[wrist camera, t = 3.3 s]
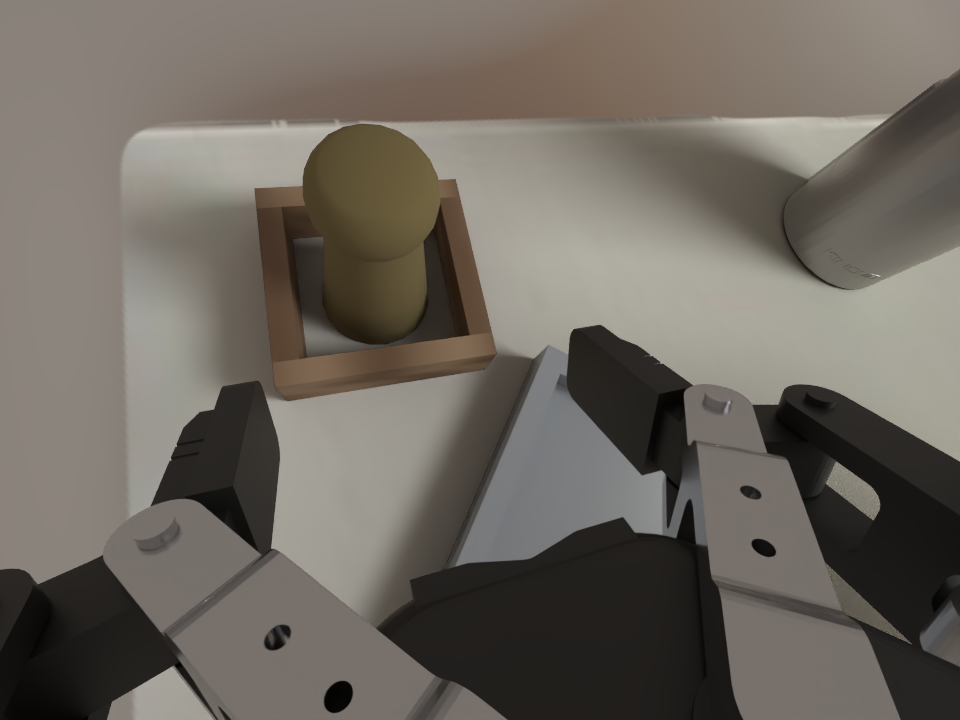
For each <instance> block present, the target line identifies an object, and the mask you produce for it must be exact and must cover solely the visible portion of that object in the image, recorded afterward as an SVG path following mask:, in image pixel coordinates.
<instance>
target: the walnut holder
mask: <svg viewBox="0 0 960 720" xmlns="http://www.w3.org/2000/svg"><path fill="white" fill-rule="evenodd" d="M438 182H439V191H440V207H439V211H438V215H437V218H436V222H435V225H434V232H435V237H436V241H437V246H438V251H439V255H440V260H441V265H442V269H443V274H444V279H445V283H446V288H447V292H448V297H449V302H450V306H451V311H452V316H453V320H454V325H455V330H456V334H457V337H454V338H447V339H440V340H433V341H426V342H418V343H411V344H404V345H397V346H390V347H382V348H375V349H368V350H361V351H354V352H346V353H339V354H332V355H325V356H318V357H310V358H307V355H306V346H305V338H304V330H303V322H302V314H301V306H300V298H299V289H298V281H297V273H296V265H295V257H294V249H293V240H292V238H306V237H319V236H322V235H321V234H320V233H319V232H318V230H317V229H316V228H315V227H314V225H313V224H312V222H311V219H310V216H309V214H308V211H307V209H306V206H305V203H304V199H303V186H299V187H277V188H255V198H256V208H257V218H258V228H259V238H260V247H261V257H262V267H263V277H264V287H265V297H266V306H267V316H268V326H269V336H270V346H271V356H272V365H273V375H274V385H275V388H276V389H277V390H278V391H279V393H280V394H281V395H282V396H283V397H284V398H285V399H286V400H287V401H292V400H298V399H304V398H310V397H316V396H323V395H329V394H335V393H341V392H348V391H354V390H360V389H366V388H373V387H379V386H385V385H391V384H397V383H404V382H410V381H416V380H422V379H429V378H435V377H441V376H447V375H454V374H460V373H466V372H472V371H478V370H485V368H486V367H487V366H488V364H489V363H490V362H491V361H492V359H493V358H494V357H495V355H496V354H497V352H496V348H495V344H494V340H493V335H492V331H491V327H490V323H489V319H488V314H487V310H486V306H485V302H484V297H483V293H482V289H481V285H480V281H479V276H478V272H477V268H476V264H475V259H474V255H473V251H472V247H471V242H470V238H469V234H468V230H467V226H466V221H465V217H464V213H463V209H462V204H461V200H460V196H459V192H458V188H457V183H456V179H450V180H438Z"/></svg>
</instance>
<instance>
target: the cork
mask: <svg viewBox="0 0 960 720" xmlns="http://www.w3.org/2000/svg"><path fill="white" fill-rule="evenodd" d="M303 199H304V203H305V206H306V209H307V211H308V214H309V216H310V219H311V222H312V224H313V225H314V227H315V228H316V229H317V230H318V232H319V233H320V234H321V235H322V236H323V238H324V254H323V306H324V309H325V311H326V314H327V317H328V319H329V320H330V321H331V323H332V324H333V325H334V326H335V327H336V328H337V330H338V331H339V332H341V333H343V334H344V335H346V336H347V337H349V338H351V339H352V340H355V341H358V342H362V343H366V344H370V345H371V344H389V343H392V342H395V341H398V340H401V339H403V338H404V337H406V336H407V335H409V334H410V333H411V332H413V331H414V330H415V329H416V328H417V327H418V325H419V324H420V322H421V321H422V319H423V318H424V316H425V312H426V309H427V305H428V295H427V282H426V269H425V256H424V243H423V241H424V240H425V239H426V237H427V236H428V235H429V233H430V232H431V231H432V229H433V228H434V225H435V222H436V218H437V215H438V211H439V207H440V191H439V182H438V177H437V174H436V172H435V170H434V168H433V165H432V163H431V161H430V159H429V158H428V157H427V156H426V154H425V153H424V152H423V151H422V150H421V149H420V148H419V146H418V145H417V144H416V143H415V142H414V141H413V140H411V139H410V138H408V137H407V136H405V135H404V134H402V133H400V132H399V131H396V130H393V129H390V128H387V127H384V126H381V125H372V124H357V125H352V126H346V127H343V128H341V129H339V130H337V131H334V132H332V133H330V134H328V135H327V136H326V137H325V138H324V139H323V140H322V141H321V142H320V143H319V144H318V145H317V146H316V148H315V149H314V150H313V151H312V152H311V154H310V156H309V159H308V161H307V163H306V166H305V168H304V174H303Z"/></svg>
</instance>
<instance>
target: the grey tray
mask: <svg viewBox="0 0 960 720" xmlns="http://www.w3.org/2000/svg"><path fill="white" fill-rule="evenodd" d="M567 366H568V355H567V354H565V353H563V352H561V351H559V350H557V349H555V348H553V347H551V346H550V345H548V346H547V347H546V348H545V349H544V350H543V351H542V352H541V353H540V354H539V355H538V356H537V357H535V358H534V360H533V363H532V365H531V367H530V370H529V372H528V374H527V377H526V379H525V381H524V384H523V386H522V388H521V391H520V393H519V395H518V398H517V400H516V402H515V405H514V407H513V409H512V412H511V414H510V416H509V419H508V421H507V423H506V426H505V428H504V430H503V432H502V435H501V437H500V439H499V442H498V444H497V446H496V449H495V451H494V453H493V456H492V458H491V460H490V463H489V465H488V467H487V470H486V472H485V474H484V477H483V479H482V481H481V484H480V486H479V488H478V491H477V493H476V495H475V498H474V500H473V502H472V505H471V507H470V509H469V512H468V514H467V516H466V519H465V521H464V523H463V525H462V528H461V530H460V532H459V535H458V537H457V539H456V542H455V544H454V546H453V549H452V551H451V553H450V556H449V558H448V560H447V563H446V565H445V567H444V570H446V569H449V568H452V567H456V566H459V565H463V564H466V563H475V562H492V561H510V560H525V559H530V558H532V557H534V556H536V555H538V554H539V553H541V552H543V551H544V550H546V549H547V548H549V547H551V546H552V545H554V544H556V543H557V542H559V541H560V540H562V539H564V538H565V537H567V536H568V535H570V534H572V533H573V532H575V531H577V530H581V529H584V528H587V527H591V526H594V525H597V524H601V523H604V522H608V521H611V520H614V519H618V518H621V517H624V519H625V520H626V521H627V523H628V524H629V525H630V526H631V528H632V529H633V530H634V532H635V533H652V534H659V535H662V484H663V479H664V475H665V473H664V472H663V471H662V470H661V471H657V472H654V473H650V474H646V475H643V476H642V475H641V474H640V473H639V472H638V471H637V470H636V469H635V467H634V466H633V465H632V464H631V463H630V462H629V461H628V460H627V459H626V458H625V456H624V455H623V454H622V453H621V452H620V451H619V450H618V449H617V448H616V446H615V445H614V444H613V443H612V442H611V441H610V440H609V439H608V438H607V437H606V435H605V434H604V433H603V432H602V431H601V430H600V429H599V428H598V427H597V426H596V424H595V423H594V422H593V421H592V420H591V419H590V418H589V417H588V416H587V415H586V413H585V412H584V411H583V410H582V409H581V408H580V407H579V406H578V405H577V404H576V402H575V401H574V400H573V399H572V397H571V396H570V394H569V391H568V387H567V380H566V379H567Z"/></svg>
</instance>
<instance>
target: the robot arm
mask: <svg viewBox="0 0 960 720" xmlns="http://www.w3.org/2000/svg"><path fill="white" fill-rule="evenodd" d="M784 226H785V231H786V235H787V237H788V239H789V242H790V244H791V246H792V248H793V249H794V251H795V253H796V254H797V256H798V257H799V258H800V259H801V261H802V262H803V263H804V264H805V265H806V266H807V267H808V268H809V269H810V270H811V271H812V272H813V273H815V274H816V275H817V276H819V277H820V278H822V279H823V280H825V281H826V282H828V283H831V284H833V285H835V286H838V287H842V288H846V289H861V288H865V287H868V286H870V285H873V284H875V283H877V282H880V281H882V280H884V279H886V278H889V277H891V276H893V275H895V274H898V273H900V272H902V271H904V270H907V269H909V268H911V267H913V266H916V265H918V264H920V263H922V262H925V261H927V260H930V259H932V258H934V257H936V256H939V255H941V254H943V253H945V252H948V251H950V250H952V249H954V248H957V247H959V246H960V69H959V70H958V71H957V72H955V73H954V74H952V75H951V76H950V77H948V78H947V79H942V80H939V81H938V82H936V83H935V84H933V85H932V86H931V87H929V88H928V89H927V90H925V91H924V92H923V93H921V94H920V95H919V96H917V97H916V98H915V99H913V100H912V101H911V102H909V103H908V104H907V105H905V106H904V107H903V108H902V109H900V110H899V111H898V112H896V113H895V114H894V115H892V116H891V117H890V118H888V119H887V120H886V121H884V122H883V123H882V124H880V125H879V126H878V127H876V128H875V129H874V130H872V131H871V132H870V133H869V134H867V135H866V136H865V137H863V138H862V139H861V140H859V141H858V142H857V143H855V144H854V145H853V146H851V147H850V148H849V149H847V150H846V151H845V152H843V153H842V154H841V155H839V156H838V157H837V158H836V159H834V160H833V161H832V162H830V163H829V164H828V165H826V166H825V167H824V168H822V169H821V170H820V171H818V172H817V173H816V174H814V175H813V176H812V177H810V178H809V181H808V183H807V184H805V185H804V186H803V187H801V188H800V189H799V190H797V191H796V192H795V193H794V194H793V195H791V196H790V198H789V199H788V201H787V203H786V206H785V210H784ZM566 380H567V387H568V391H569V394H570V396H571V397H572V399H573V400H574V401H575V402H576V404H577V405H578V406H579V407H580V408H581V409H582V410H583V411H584V412H585V413H586V415H587V416H588V417H589V418H590V419H591V420H592V421H593V422H594V423H595V424H596V426H597V427H598V428H599V429H600V430H601V431H602V432H603V433H604V434H605V435H606V437H607V438H608V439H609V440H610V441H611V442H612V443H613V444H614V445H615V446H616V448H617V449H618V450H619V451H620V452H621V453H622V454H623V455H624V456H625V458H626V459H627V460H628V461H629V462H630V463H631V464H632V465H633V466H634V467H635V469H636V470H637V471H638V472H639V473H640V474H641V475H642V476H643V475H646V474H650V473H654V472H657V471H661V470H662V471H663V472H664V473H665V475H664V479H663V484H662V535H659V534H652V533H635V532H634V530H633V529H632V528H631V526H630V525H629V524H628V523H627V521H626V520H625V519H624V517H621V518H618V519H614V520H611V521H608V522H604V523H601V524H597V525H594V526H591V527H587V528H584V529H581V530H577V531H575V532H573V533H572V534H570V535H568V536H567V537H565V538H564V539H562V540H560V541H559V542H557V543H556V544H554V545H552V546H551V547H549V548H547V549H546V550H544V551H543V552H541V553H539V554H538V555H536V556H534V557H532V558H530V559H525V560H510V561H492V562H475V563H466V564H463V565H459V566H456V567H452V568H449V569H446V570H442V571H439V572H436V573H432V574H429V575H425V576H422V577H419V578H415V579H412V580H410V583H411V590H412V596H413V600H411V601H410V602H408V603H406V604H405V605H403V606H402V607H400V608H399V609H398V610H396V611H395V612H394V613H392V614H391V615H390V616H389V617H388V618H387V619H385V620H384V621H383V622H382V623H381V624H380V625H379V626H378V627H377V628H374V627H373V626H372V625H371V624H369V623H368V622H367V621H366V620H364V619H363V618H362V617H361V616H359V615H358V614H357V613H356V612H354V611H353V610H352V609H351V608H350V607H348V606H347V605H346V604H345V603H343V602H342V601H341V600H340V599H338V598H337V597H336V596H335V595H333V594H332V593H331V592H330V591H328V590H327V589H326V588H325V587H323V586H322V585H321V584H320V583H319V582H317V581H316V580H315V579H314V578H312V577H311V576H310V575H309V574H307V573H306V572H305V571H304V570H302V569H301V568H300V567H299V566H297V565H296V564H295V563H294V562H292V561H291V560H290V559H289V558H287V557H286V556H285V555H284V554H282V553H281V552H279V551H278V550H275V549H271V543H272V533H273V523H274V513H275V503H276V493H277V483H278V473H279V463H280V450H279V443H278V438H277V434H276V430H275V427H274V424H273V420H272V417H271V414H270V411H269V407H268V404H267V401H266V397H265V394H264V391H263V388H262V385H261V383H260V382H259V381H253V382H246V383H240V384H234V385H228V386H223V387H222V388H221V391H220V394H219V397H218V400H217V403H216V406H215V409H214V410H209V411H203V412H199V413H198V414H197V415H196V416H195V417H194V418H193V419H192V420H191V421H190V422H189V423H188V424H187V425H186V426H185V427H184V428H183V430H182V433H181V435H180V437H179V440H178V442H177V447H175V449H174V452H173V454H172V456H171V459H172V461H169V464H168V466H167V468H166V471H165V473H164V476H163V478H162V480H161V483H160V485H159V488H158V490H157V492H156V495H155V497H154V499H153V502H152V504H151V507H149V508H147V509H145V510H143V511H141V512H139V513H137V514H136V515H134V516H133V517H131V518H130V519H128V520H127V521H126V522H124V523H123V524H122V525H121V526H120V527H119V528H118V529H117V530H116V531H115V532H114V533H113V534H112V536H111V537H110V538H109V540H108V541H107V543H106V545H105V547H104V552H103V555H102V556H100V557H98V558H96V559H94V560H92V561H90V562H88V563H86V564H83V565H81V566H79V567H77V568H74V569H72V570H70V571H68V572H65V573H63V574H61V575H58V576H56V577H54V578H52V579H50V580H47V581H45V582H43V583H40V584H37V583H36V582H35V581H34V579H33V578H32V577H31V575H30V574H29V573H27V572H26V571H23V570H20V569H4V570H0V720H107V717H108V714H109V710H110V707H111V703H112V701H114V700H116V699H117V698H119V697H121V696H122V695H124V694H126V693H128V692H129V691H131V690H133V689H134V688H136V687H138V686H139V685H141V684H143V683H145V682H146V681H148V680H150V679H151V678H153V677H155V676H157V675H158V674H160V673H162V672H163V671H165V670H167V669H169V668H170V667H172V666H173V668H174V669H175V670H176V671H177V673H178V674H179V675H180V677H181V678H182V679H183V680H184V682H185V683H186V684H187V686H188V687H189V688H190V689H191V691H192V692H193V693H194V695H195V696H196V697H197V698H198V700H199V701H200V702H201V704H202V705H203V706H204V708H205V709H206V710H207V711H208V713H209V714H210V715H211V717H212V718H213V719H214V720H960V462H959V461H958V460H956V459H954V458H952V457H951V456H949V455H947V454H945V453H944V452H942V451H940V450H938V449H937V448H935V447H933V446H931V445H929V444H928V443H926V442H924V441H922V440H921V439H919V438H917V437H915V436H914V435H912V434H910V433H908V432H907V431H905V430H903V429H901V428H900V427H898V426H896V425H894V424H893V423H891V422H889V421H887V420H886V419H884V418H882V417H880V416H878V415H877V414H875V413H873V412H871V411H870V410H868V409H866V408H864V407H863V406H861V405H859V404H857V403H856V402H854V401H852V400H850V399H849V398H847V397H845V396H843V395H841V394H839V393H837V392H834V391H832V390H829V389H826V388H822V387H818V386H812V385H792V386H789V387H787V388H785V389H784V391H783V394H782V396H781V399H780V402H779V404H778V405H752V404H751V402H750V401H749V400H748V399H747V398H746V397H744V396H743V395H742V394H740V393H738V392H736V391H734V390H731V389H728V388H725V387H722V386H717V385H709V384H702V385H695V386H693V385H692V384H691V383H689V382H688V381H686V380H685V379H684V378H682V377H681V376H679V375H678V374H677V373H675V372H674V371H672V370H671V369H670V368H668V367H667V366H665V365H664V364H660V361H658V360H657V359H656V358H654V357H653V356H651V357H650V354H649V353H647V352H646V351H644V350H643V349H642V348H640V347H639V346H637V345H635V344H632V343H630V342H627V341H625V340H622V339H620V338H618V337H617V336H616V335H614V334H613V333H611V332H610V331H609V330H607V329H606V328H605V327H603V326H602V325H596V326H589V327H583V328H577V329H574V330H573V331H572V333H571V335H570V343H569V354H568V366H567V379H566ZM836 461H837V462H838V463H840V464H841V465H842V466H844V467H845V468H847V469H848V470H849V471H851V472H852V473H854V474H855V475H856V476H858V477H859V478H861V479H862V480H864V481H865V482H866V483H868V484H869V485H870V486H871V487H872V488H873V489H874V490H875V491H876V493H877V495H878V497H879V499H880V510H879V512H878V514H877V516H876V518H875V519H874V521H873V520H872V519H870V518H869V517H868V516H866V515H865V514H864V513H863V512H861V511H860V510H859V509H857V508H856V507H855V506H854V505H852V504H851V503H850V502H848V501H847V500H846V499H844V498H843V497H842V496H841V495H839V494H838V493H837V492H835V491H834V490H833V489H832V488H830V487H829V486H828V485H826V481H827V479H828V477H829V475H830V473H831V471H832V469H833V467H834V465H835V463H836ZM825 562H826V563H827V564H828V565H829V566H830V567H831V568H832V569H833V570H834V571H835V572H836V573H837V574H838V575H839V576H840V577H842V578H843V579H844V580H845V581H846V582H847V583H848V584H849V585H850V586H851V587H852V588H853V589H854V590H855V591H856V592H857V593H859V594H860V595H861V596H862V597H863V598H864V599H865V600H866V601H867V602H868V603H869V604H870V605H871V606H872V607H873V608H874V609H876V610H877V611H878V612H879V613H880V614H881V615H882V616H883V617H884V618H885V619H886V620H887V621H888V622H889V623H890V624H892V625H893V626H894V627H895V628H896V629H897V630H898V631H899V632H900V633H901V634H902V635H903V636H904V637H905V638H906V639H907V640H909V641H910V642H911V643H912V644H913V645H911V644H909V643H907V642H905V641H903V640H901V639H898V638H896V637H894V636H892V635H890V634H888V633H885V632H883V631H881V630H879V629H877V628H875V627H872V626H870V625H868V624H866V623H864V622H862V621H859V620H857V619H855V618H853V617H851V616H849V615H846V614H845V613H844V612H843V610H842V608H841V606H840V603H839V600H838V598H837V595H836V592H835V589H834V586H833V584H832V581H831V578H830V575H829V573H828V570H827V567H826V564H825Z"/></svg>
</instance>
